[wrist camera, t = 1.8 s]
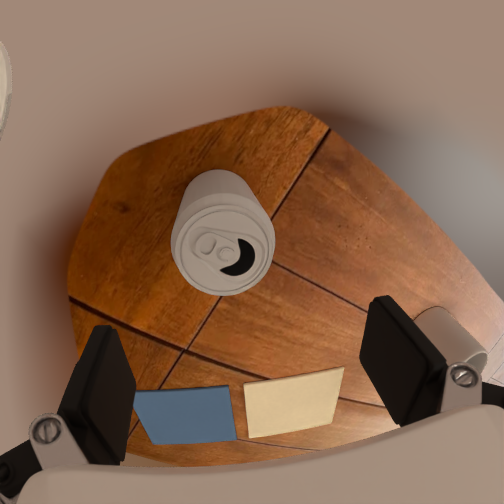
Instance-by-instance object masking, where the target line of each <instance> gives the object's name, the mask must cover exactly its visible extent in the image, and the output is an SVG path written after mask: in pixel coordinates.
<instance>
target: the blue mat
mask: <svg viewBox="0 0 504 504" xmlns="http://www.w3.org/2000/svg"><path fill="white" fill-rule="evenodd" d="M133 407H134V409H135V411H136V413H137V415H138V417H139V419H140V421H141V423H142V425H143V426H144V428H145V430H146V432H147V434H148V436H149V438H150V439H151V441H152V443H153V444H190V443H207V442H220V441H230V440H237V437H236V431H235V425H234V419H233V413H232V406H231V400H230V394H229V387H228V385H223V386H213V387H201V388H188V389H171V390H141V391H136V393H135V398H134V404H133Z"/></svg>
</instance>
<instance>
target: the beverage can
mask: <svg viewBox="0 0 504 504" xmlns="http://www.w3.org/2000/svg"><path fill="white" fill-rule="evenodd" d="M274 249H275V232H274V228H273V225H272V223H271V221H270V219H269V217H268V215H267V214H266V212H265V211H264V209H263V208H262V206H261V205H260V203H259V202H258V200H257V198H256V197H255V195H254V194H253V192H252V191H251V189H250V188H249V186H248V185H247V183H246V182H245V181H244V180H243V179H242V178H241V177H240V176H238V175H237V174H235V173H233V172H230V171H227V170H210V171H206V172H204V173H202V174H200V175H198V176H197V177H195V178H194V179H193V180H192V181H191V182H190V183H189V185H188V186H187V188H186V190H185V193H184V195H183V198H182V202H181V205H180V208H179V211H178V214H177V217H176V221H175V224H174V227H173V230H172V235H171V250H172V255H173V258H174V261H175V263H176V265H177V267H178V268H179V270H180V272H181V273H182V275H183V276H184V278H185V279H186V280H187V281H188V282H189V283H190V284H191V285H192V286H194V287H195V288H197V289H199V290H200V291H203V292H205V293H208V294H212V295H219V296H228V295H234V294H238V293H241V292H244V291H246V290H248V289H249V288H251V287H253V286H254V285H256V284H257V283H258V282H259V281H260V280H261V279H262V278H263V277H264V275H265V274H266V272H267V271H268V269H269V267H270V264H271V261H272V258H273V253H274Z"/></svg>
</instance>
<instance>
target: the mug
mask: <svg viewBox="0 0 504 504" xmlns="http://www.w3.org/2000/svg"><path fill="white" fill-rule="evenodd" d="M413 322H414V323H415V324H416V325H417V326H418V327H419V328H420V330H421V331H422V332H423V333H424V334H425V335H426V336H427V337H428V339H429V340H430V341H431V342H432V343H433V344H434V346H435V347H436V348H437V349H438V350H439V351H440V353H441V354H442V355H443V356H444V357H445V359H446V360H447V361H446V363H447V365H448V366H450V365H451V364H453V363H455V362H466V363H469V364H471V365H473V366H475V367H476V368H477V369H478V370H479V372H480V374H481V373H482V371H483V370H484V368H485V366H486V364H487V361H488V353H487V351H486V350H485V349H484V348H483V347H482V346H481V345H480V344H479V342H478V341H477V340H476V339H475V338H474V337H473V336H472V335H471V334H470V333H469V332H468V331H467V330H466V329H465V328H464V327H462V326H461V325H460V324H459V323H458V322H457V321H456V320H455V319H454V318H453V317H452V316H451V314H450V313H449V312H447V311H446V310H445V309H444V308H442V307H433V308H430V309H428V310H426V311H424V312H423V313H421V314H420V315H419V316H418V317H417V318H416V319H415V320H414V321H413Z"/></svg>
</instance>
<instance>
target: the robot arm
mask: <svg viewBox="0 0 504 504" xmlns="http://www.w3.org/2000/svg"><path fill="white" fill-rule="evenodd" d="M359 358H360V362H361V364H362V366H363V368H364V370H365V371H366V373H367V375H368V376H369V378H370V380H371V382H372V383H373V385H374V387H375V389H376V390H377V392H378V394H379V396H380V398H381V399H382V401H383V403H384V405H385V406H386V408H387V410H388V412H389V414H390V415H391V417H392V419H393V421H394V422H395V424H397V425H398V424H399V425H400V427H401V428H398V429H395V430H392V431H389V432H386V433H383V434H380V435H377V436H373V437H370V438H367V439H363V440H360V441H356V442H353V443H349V444H345V445H341V446H337V447H333V448H329V449H325V450H321V451H316V452H311V453H306V454H301V455H296V456H291V457H285V458H279V459H273V460H266V461H258V462H250V463H241V464H231V465H219V466H203V467H131V466H120V461H124V459H125V453H126V446H127V439H128V433H129V427H130V421H131V415H132V409H133V404H134V398H135V393H136V381H135V378H134V376H133V373H132V371H131V368H130V366H129V363H128V360H127V358H126V355H125V352H124V350H123V347H122V344H121V341H120V338H119V336H118V333H117V330H116V329H112V327H111V326H110V325H97V326H95V327H94V328H93V331H92V333H91V335H90V337H89V339H88V342H87V344H86V346H85V348H84V351H83V353H82V355H81V358H80V360H79V361H78V362H77V364H76V366H75V368H74V370H73V373H72V375H71V378H70V381H69V383H68V385H67V388H66V390H65V393H64V395H63V398H62V401H61V404H60V406H59V409H58V411H57V414H54V413H45V414H42V415H40V416H38V417H37V418H36V419H34V421H33V422H32V423H31V425H30V427H29V432H28V434H29V440H27V441H25V442H24V443H22V444H20V445H18V446H17V447H15V448H13V449H11V450H10V451H8V452H6V453H4V454H3V455H1V456H0V504H504V387H501V386H497V385H493V384H489V383H486V382H482V377H481V374H480V372H479V370H478V369H477V368H476V367H475V366H473V365H471V364H469V363H466V362H455V363H453V364H451V365H450V366H448V365H447V363H446V361H447V360H446V359H445V357H444V356H443V355H442V354H441V353H440V351H439V350H438V349H437V348H436V347H435V346H434V344H433V343H432V342H431V341H430V340H429V339H428V337H427V336H426V335H425V334H424V333H423V332H422V331H421V330H420V328H419V327H418V326H417V325H416V324H415V323H414V322H413V321H412V319H411V318H410V317H409V316H408V315H407V314H406V313H405V312H404V311H403V309H402V308H401V307H400V306H399V305H398V304H397V303H396V302H395V301H394V300H393V299H392V297H391V296H389V295H386V296H380V297H375V298H374V299H373V302H370V304H369V309H368V315H367V320H366V325H365V331H364V336H363V340H362V345H361V350H360V355H359Z"/></svg>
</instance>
